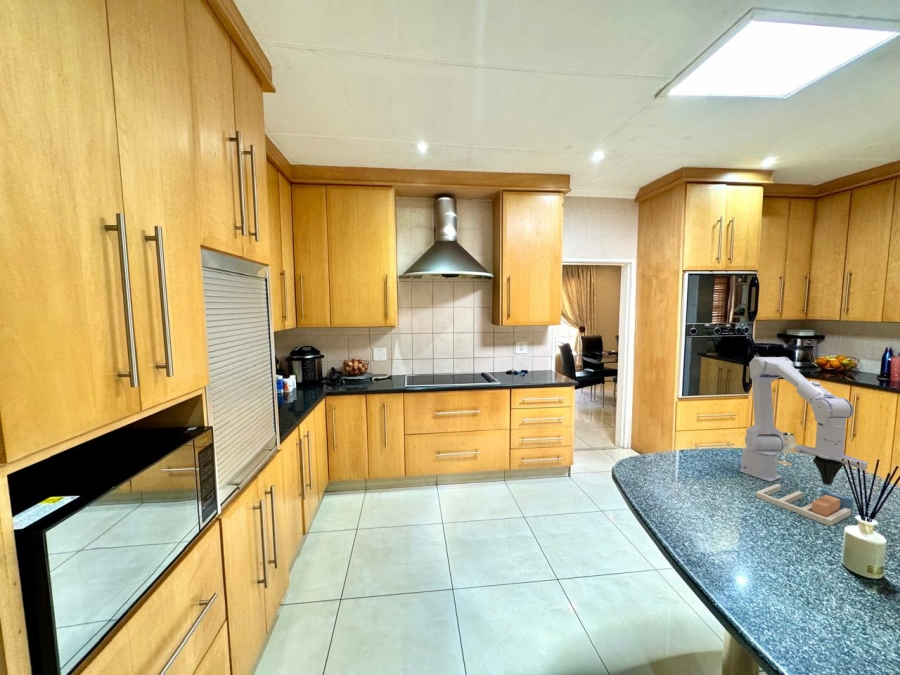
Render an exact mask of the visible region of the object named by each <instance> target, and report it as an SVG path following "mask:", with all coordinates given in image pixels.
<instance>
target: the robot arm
mask: <svg viewBox="0 0 900 675" xmlns="http://www.w3.org/2000/svg"><path fill="white" fill-rule="evenodd" d="M749 378H750V379H751V383H752V384H751V386H752V387H751V388H752V402H753V419H754V420H753V422H754V424H753V425H751V426H750V427H747V429H746V430H745V431H746V435H745V436H744V437H745V438H744V442H745V445H746V447H744V448H743V450H742V452H741V459H740V460H741V461H740V462H741V465H740V470H739V471H740V473H744V474H746V475H750V476H752V477H755V478H757V479H758V478H759V479H761V480H764V481H766V482H769V483H770V482H774V481H776V480H779V479H781V478H783V476H782V475H780V474H778V473H777V468H778V463H777V461H778V455H780V454H781V453H783V451H784V448H785V442H784V440H783V437H782V432H783V431H782V430H780V429H778V428H777V427H775V422H774V421H775V420H774V408H773V407H774V405H773V392H772V390H773V389H772V383H773V382H774V381H776V380H777V379H779V378H783V379H784V380H785V381H787V382H788V383H790V385H793V386H794V387H795V388H797V389H796V393H797V394H798V395H799V396H800V397H801V398H803V400H804V401H806V402H807V403H808V404H810V405H811V410H812V413H813V414H814V420H815V422H816V431H815V432H816V435H815V447H812V446H806V445H801V444H796V445H795V448H794V449H795V450H794V452H796V453H802V454H805V455H809V456H812V457H813V456H814V458H813V463H814V465H815V466H816V468H817V470H818V471H819V474H820V477H821V482H822V484H824V485H827V486H831V485H833V481H834V479H835V477H836V476H837V474H838V473H839V471H840V470H841V469H842V468H843V467H844V466H845V465H846V466H850V465H851V466H850V467H853V468H857V469H859V470H861V471H866V470H867V469H868V461H865V460H860V459H857V458H855V457H852V456H848V455H846V454H845V447H846V446H845V443H846V427H847V419H849V418H851V417H852V416H853V415H854V411H855V410H854V407H853V404H852V403H851V402H850V401H849V400H848V399H847V398H845V397H839V396H835V395H834V394H833V393H832V392H830V391H829V390H827V389H826V388H825V387H823V386H822V383H820V382H819V381H812V380H808V379H807V378H806V377H805V376H804V375H803V374H802V373H800V371H798V370H797V369H796V368H795V367H794V362H793V361H792V360H790V358H789V357H786V356H780V357H779V356H777V357H776V356H767V357H766V356H764V357H763V356H755V357H753V358H752V359H751V361H749ZM843 458H845V459H844V460H843V461H842V459H843ZM846 459H847V460H849V462H850V465H848V461H847V460H846ZM857 462H859V465H860V467H859V465H858V464H857Z"/></svg>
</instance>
